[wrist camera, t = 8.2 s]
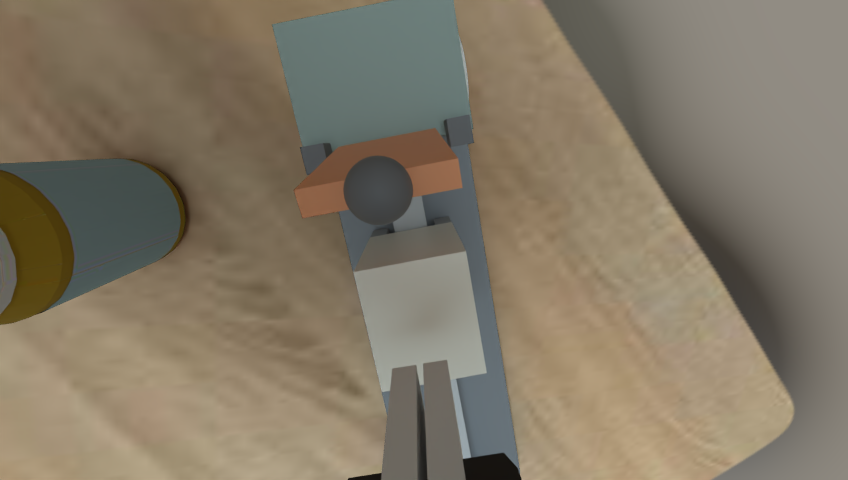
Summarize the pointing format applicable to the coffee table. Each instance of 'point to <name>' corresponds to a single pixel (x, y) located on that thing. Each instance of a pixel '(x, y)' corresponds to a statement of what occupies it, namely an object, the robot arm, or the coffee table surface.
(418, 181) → the lever
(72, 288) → the bottle
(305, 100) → the rail bench
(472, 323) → the carriage
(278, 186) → the coffee table surface
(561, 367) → the coffee table surface
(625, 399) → the coffee table surface
